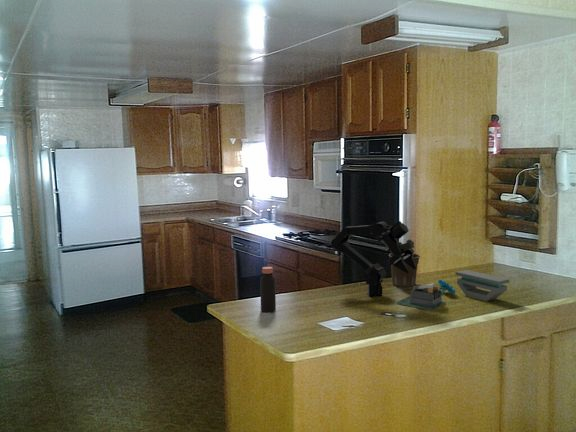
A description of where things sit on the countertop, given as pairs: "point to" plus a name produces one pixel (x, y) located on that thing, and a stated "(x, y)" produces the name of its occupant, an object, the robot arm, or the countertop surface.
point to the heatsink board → (423, 298)
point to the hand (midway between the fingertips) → (411, 270)
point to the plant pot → (404, 274)
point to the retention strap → (425, 286)
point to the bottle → (267, 290)
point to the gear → (445, 287)
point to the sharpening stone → (481, 285)
